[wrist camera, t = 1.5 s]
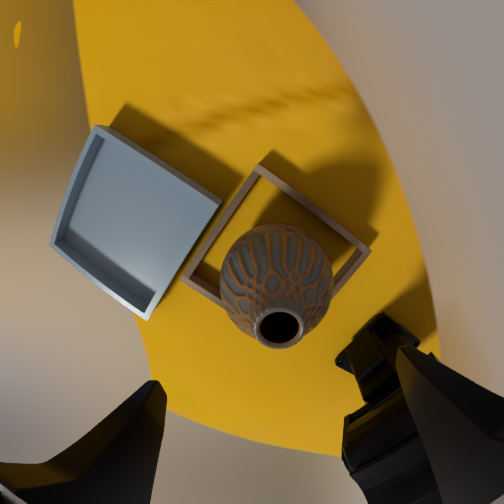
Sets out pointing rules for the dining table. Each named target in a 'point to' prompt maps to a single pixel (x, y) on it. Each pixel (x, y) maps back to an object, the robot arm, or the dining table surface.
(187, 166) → the dining table surface
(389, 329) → the robot arm
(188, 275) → the walnut frame
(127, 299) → the slate tray
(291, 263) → the vase
